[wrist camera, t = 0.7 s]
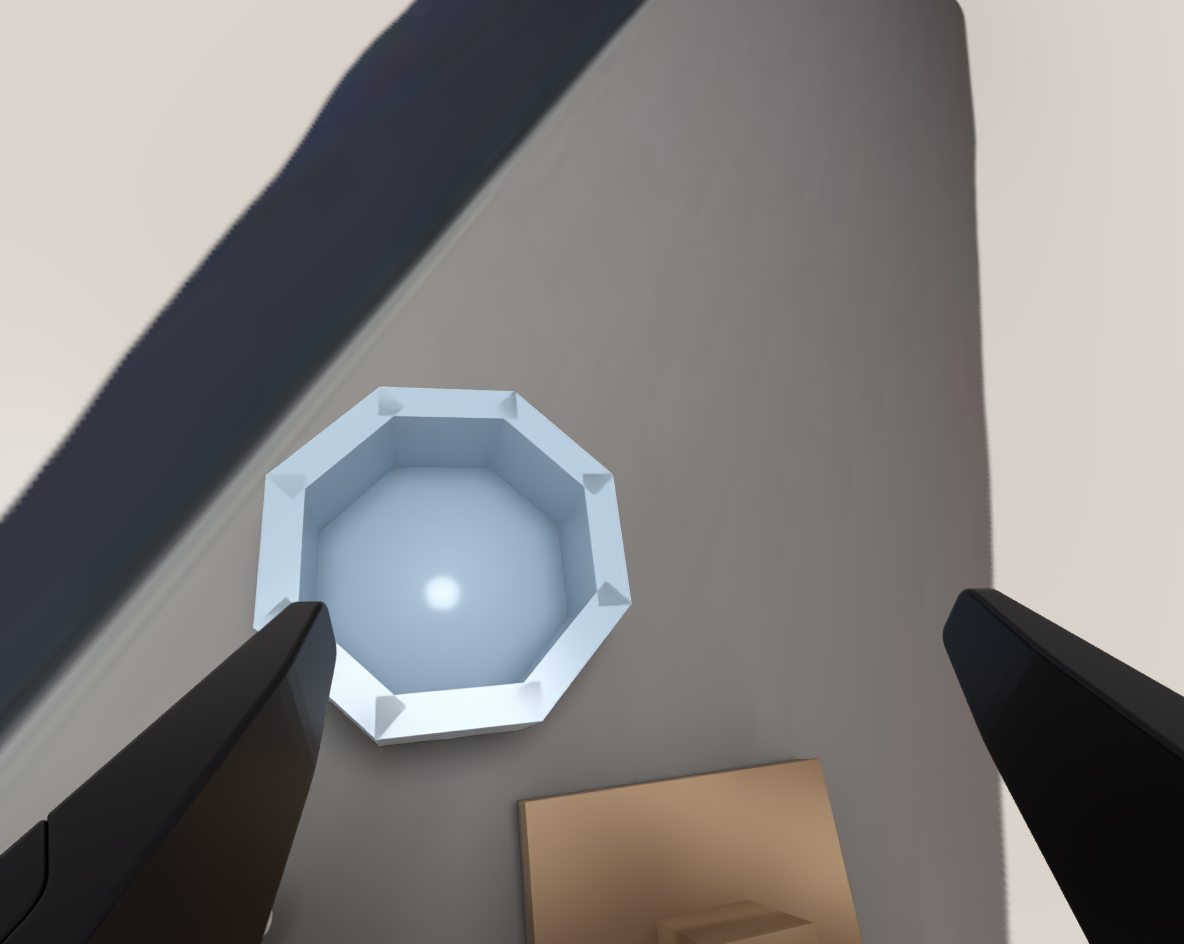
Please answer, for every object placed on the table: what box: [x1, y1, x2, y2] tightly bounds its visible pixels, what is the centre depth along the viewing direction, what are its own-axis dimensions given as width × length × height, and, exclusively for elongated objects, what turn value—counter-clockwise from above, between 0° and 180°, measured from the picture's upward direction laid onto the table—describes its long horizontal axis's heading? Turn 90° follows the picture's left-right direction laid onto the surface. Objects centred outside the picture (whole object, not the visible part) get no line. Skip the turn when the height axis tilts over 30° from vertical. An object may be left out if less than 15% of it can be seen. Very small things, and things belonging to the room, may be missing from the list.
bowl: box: [253, 386, 632, 746], centre depth 20 cm, size 10×10×4 cm
